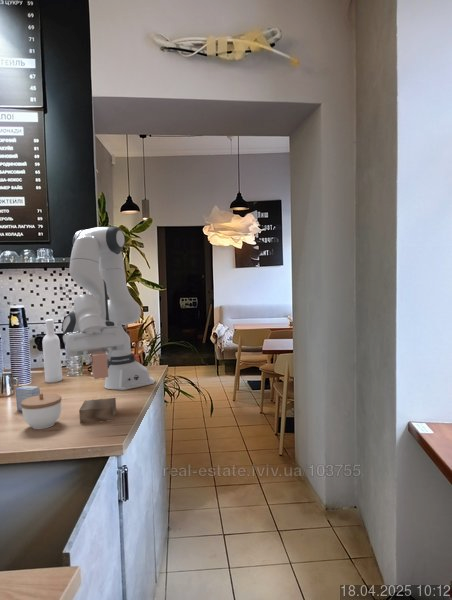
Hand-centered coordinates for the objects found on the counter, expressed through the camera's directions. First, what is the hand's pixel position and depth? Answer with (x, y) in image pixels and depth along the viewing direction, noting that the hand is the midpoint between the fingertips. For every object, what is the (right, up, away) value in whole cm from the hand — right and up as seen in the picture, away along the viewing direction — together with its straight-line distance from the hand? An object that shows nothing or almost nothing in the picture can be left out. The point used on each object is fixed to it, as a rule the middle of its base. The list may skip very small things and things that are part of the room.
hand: (99, 361), depth 145 cm
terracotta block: (0, -5, +1) cm, 5 cm away
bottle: (-41, -18, +61) cm, 75 cm away
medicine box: (-32, -21, +17) cm, 42 cm away
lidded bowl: (-19, -22, -1) cm, 29 cm away
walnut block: (-2, -21, +6) cm, 22 cm away
